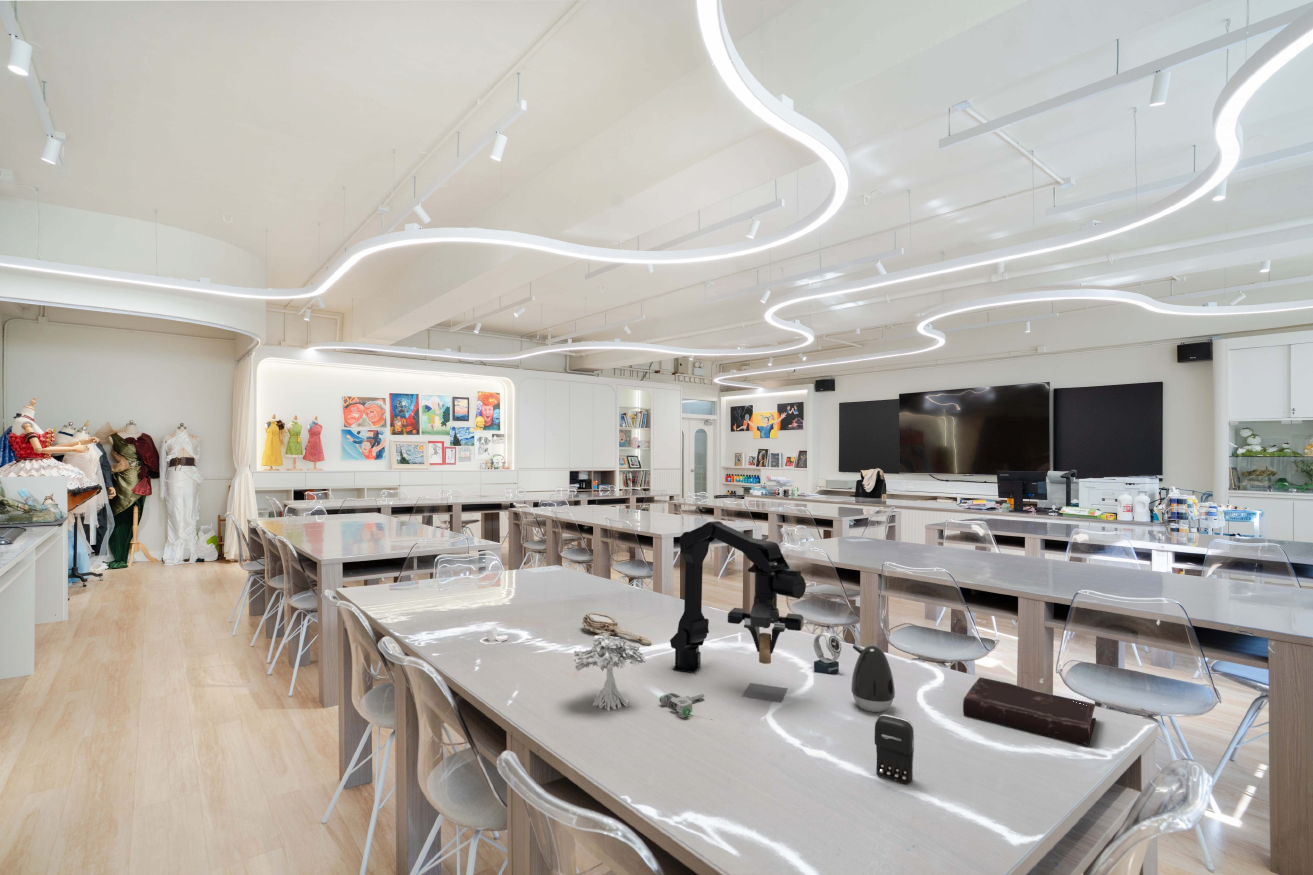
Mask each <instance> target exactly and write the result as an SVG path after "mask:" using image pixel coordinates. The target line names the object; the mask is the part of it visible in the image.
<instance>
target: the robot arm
mask: <svg viewBox="0 0 1313 875" xmlns="http://www.w3.org/2000/svg"><path fill="white" fill-rule="evenodd" d="M716 540H718V541H719V542H721V543H724V544H725V545H728V546H730V547H732V548H734V550H735V549H736V550H737V551H740V552H741V553H743V554H744V555H745V557H746V559H747V560H749V561H750V562H751V563H752V565H751V566H750V567H749V568H747V572H749V573H754V596H753V604H752V607H751V610H750V612H748V609H747V608H742V607H733V608H732V609H731V610H730V611H729V612H728V613H727V623H728V624H735V625H739V624H740V623H742V622H743V621H744V625H743V627H744V628H745V629H748V631H749V633H750V634H751V636H752V639H753V642H754V646H755V649H756V652H757V653H759V634H760V633H761V631H760V628H763V629H770V627H771V624H773V627H772V629H771V647H770V653H771V655H772V654H773V653H774V650H775V647H776V643H777V642H778V639H779V636H780V634H781V633H784V632H785V630H786V629H787V630H788V631H796V632H799V631H800V632H801V631H802V629H803V627H804V624H805V623H804V621H805V620H804V616H803V615H802V614H798V613H790V612H789V613H787V614H786V616H780V611H779V608H778V595H779V596H783V597H788V598H793V599H797V600H798V599H801V598H803V596H804V595H805V592H806V587H807V583H806V581H805V577H803V576H802V570H800V569H790V565H789V564H788V562H787V561H786V558H785V557H784V555H783V554H782V550H781V548H780V545H779V544H778V543H777V542H775V541H771V540H767V539H761V538H754V537H752V536H749V535H747V534H745V533H743V532H741V531H740V530H739V531H738V530H736V529H735V528H732V527H730V526H728V525H726V524H724V523H723V522H722V521H719V520H715V521H713V520H712V521H708V522H706V523H704V524H703V525H702V526H699V527H697V528H694V529H692V530H690V531H685V532H683V533H682V534H681V535H680V536H679V549H680V554H681V556H682V559H683V560H684V562H685V568H684V570H685V572H684V608H683V609H684V610H683V613H682V616H680V618H679V621H678V626H677V632H676V633H675V634H674V636H672V637H671V638H670V640H669V642H670V647H671V649H674V652H675V653H674V655H675V656H674V657H675V658H674V666H673V667H672V670H674V671H679V672H686V673H687V672H688V673H695V672H696V671H697V670H698V669H700V667H701V655H702V653H701V652H700V646H703V645H704V642H705V640H706V639H707V637H708V634H709V633H710V630H709V622H710V621H709V618H705V616H704V614H703V613H702V612H703V610H702V609H703V607H702V606H703V605H702V603H703V602H702V600H703V571H704V570H703V569H704V568H703V566H704V565H703V564H704V561H705V559H706V557H707V555H708V553H709V547H710V544H711V543H713V542H714V541H716Z"/></svg>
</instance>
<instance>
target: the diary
mask: <svg viewBox="0 0 1313 875" xmlns="http://www.w3.org/2000/svg"><path fill="white" fill-rule="evenodd" d="M1073 701H1074V702H1073ZM1076 702H1077V703H1076ZM1079 703H1081V704H1079ZM1083 704H1084V705H1083ZM1086 705H1087V706H1086ZM1095 708H1096V703H1093V702H1087V701H1083V700H1079V699H1075V698H1071V697H1065V696H1061V695H1055V694H1050V693H1046V692H1043V691H1037V690H1033V689H1030V688H1027V687H1023V686H1020V685H1016V684H1012V683H1008V682H1005V681H1000V680H995V679H990V678H984V677H979V678H978V679H977V680H976V681H975V682H974V683H973V685H972V686H971V687H970V689H969V690H968V692H967V693H966V695H965V696H964V697H963V700H962V714H963V716H965V717H968V718H973V719H976V720H981V721H985V722H990V723H993V724H997V725H1001V726H1004V727H1008V728H1013V729H1017V730H1020V731H1024V732H1028V733H1032V734H1036V735H1039V736H1045V737H1048V738H1052V739H1055V740H1061V741H1065V742H1068V743H1072V744H1075V745H1079V746H1083V747H1086V748H1090V746H1091V742H1092V739H1093V734H1094V730H1095V725H1096V722H1097V721H1096V717H1093V715H1094V711H1095Z"/></svg>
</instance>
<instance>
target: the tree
mask: <svg viewBox="0 0 1313 875" xmlns="http://www.w3.org/2000/svg"><path fill="white" fill-rule="evenodd" d="M592 642H593V646H591V648H590V649H586V650H584V651H583V650H574V651H573V652H574V656H573V657H572V658H573V661H574V663H575V667H574V668H575V670H576V671H577V672H579V671H581V670H582V669H584V668H585V669H587V668H588V669H590V666H591V665H592V666H593V667H594V666H596V667H598V668H600V670H601V672H604V670H606V679H605V682H604V685H603V687H602V689H601V690H600V691H599V693H598V695H597V696H596V697H595V698H594V699H593V704H592V706H595V707H598V708H599V709H602V708H604V709H606V710H607V711H608V712H609V711H610V710H611V708H612V709H613V710H616V709H620V708H622V704H623V705H624V706H625V707H629V705H628V704H629V703H630V702H629V700H628V699H627V698H626V697H625V696H624V695H622V694H621V692H620V691H619V690H618V687H617V684H616V680H615V677H614V672H613V668H614V669H615V668H617V669H618V670H619V669H624V667H626V664H627V662H628V661H627V660H629V664H631V665H633V666H634V667H636V668H637V667H638V666H637V664H638V665H639V666H640V667H641V666H642V665H641V664H643V663H645V664H646V662H647V661H646V660H647V659H646V657H645V656H644V655H643V653H642V652H640V651H641V650H640V648H641V647H640V646H641V645H638V646H636V645H633V644H632V643H627V641H626V639H621V638H620V636H619V637H617V636H615V635H610V634H608V633H606V634H605V633H603V634H602V633H601V634H599V633H598V634H596V635H594V639H592Z"/></svg>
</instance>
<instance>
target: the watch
mask: <svg viewBox="0 0 1313 875" xmlns="http://www.w3.org/2000/svg"><path fill="white" fill-rule="evenodd" d="M822 636H824V639H825V647H826V648H827V650H828V651H829V653H830V655H831V657H832V658H828V657H825V656H824V655H825V654H824V651H823V649H822V646H821V643H820V638H821V637H822ZM812 645H813V649H814V652H815V655H816V656H817V658H818V660H815V661H813V673H816V674H823V675H825V674H826V675H832V676H833V675H836V674H839V673H840V670H839V668H840V667H839V666H840V665H839V663H840V662H839V661H838V659H839V657H840V655H841V652H842V644H841V641H840V640H839V638H838V637H836V636H835V635H833V634H832V633H829V632H822V633H819V634H817V635H816V636H815V637H814V639H813V644H812Z"/></svg>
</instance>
